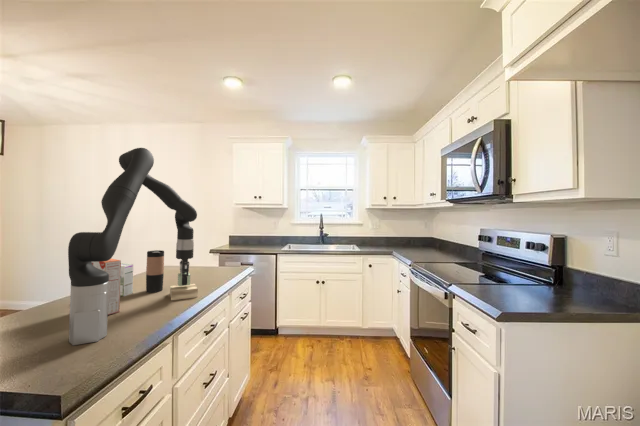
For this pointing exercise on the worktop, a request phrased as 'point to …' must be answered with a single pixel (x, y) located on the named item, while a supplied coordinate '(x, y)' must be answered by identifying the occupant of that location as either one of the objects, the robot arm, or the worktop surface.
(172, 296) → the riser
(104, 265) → the cracker box
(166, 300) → the worktop surface
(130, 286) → the syrup box
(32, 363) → the worktop surface
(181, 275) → the cube
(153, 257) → the travel mug
